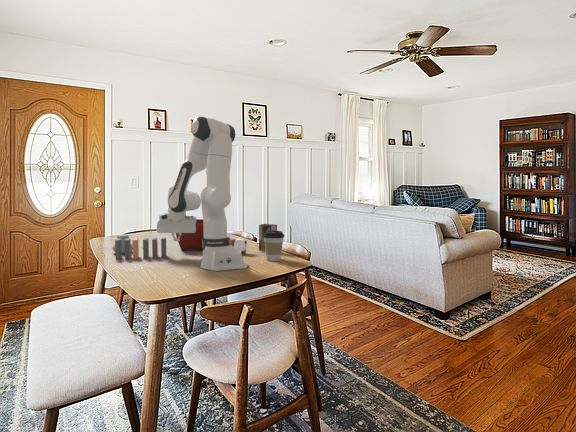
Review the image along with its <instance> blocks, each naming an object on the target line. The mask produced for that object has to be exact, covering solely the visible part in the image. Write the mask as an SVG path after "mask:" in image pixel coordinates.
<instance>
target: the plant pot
mask: <svg viewBox="0 0 576 432" xmlns="http://www.w3.org/2000/svg"><path fill="white" fill-rule="evenodd" d="M196 219H197V222H196V224H195V225H196V232H195V233H182V235H181V236H180V235H179V233H175V235H176V236H175V237H176V238H178V237H179V236H180V241H177V243H178V245H179V248H180V250H181V251H203V248H202V240H203V237H204V233H203V218H201V219H200V218H196Z"/></svg>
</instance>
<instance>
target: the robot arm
mask: <svg viewBox="0 0 576 432" xmlns="http://www.w3.org/2000/svg"><path fill="white" fill-rule="evenodd" d="M190 131H191V133H192V135H193V138H192V141H191V142H190V143H191V144H190V147H189V151H188V155H187V157H186V159H185V161H183V163H182V164H181V166H180V169H179V172H178V174H177V178H176V181H175V183H174V185H173V186H170V187H169V188H168V191H167V204H168V207H167V212H164V213H162V214H160V215H158V219H159V220H158V221H157V222H156V232H157V233H158V234H171V237H172V238H173V242H178V241H180V236H181V235H182V233H195V232H196V225H195V224H196V222H197V219H198V218H197V217H196V216H194V215H186V212H190V211H195V210H198V209H199V208H200V206H201V213H202V214H201V215H202V219H203V233H204V237H203V240H202V248H203V250H202V258H201V262H200V266H199V267H200V268H201V269H204V270H210V271H213V272H214V271H215V272H217V271H218V272H220V271H229V270H230V271H231V270H241V269H246V268H247V267H248V262H247V261H245V260H244V257H243V255H242V254H241V251H239V250H237V249H236V248H235V247H233V246H232V245H231V243H232V242H233V241H232V238H231V237H230V238H228V237H229V236H228V221H227V220H228V219H227V217H226V210H225V208H227V207H228V206H229V205H230V203H231V200H232V199H231V198H232V195H231V166H232V160H233V159H232V158H233V157H232V156H233V142H234V141H235V139H236V130H235V127H234V126H232V125H231V124H229V123H225V122H223V121H220V120H218V119H215V118H210V117H206V116H196V117H195V118H193V120H192V122H191V127H190ZM205 169H206V171H205V172H206V186H205V187H204V188H203V189H202V190H201V192H200V194H198V193H197V192H194V191H190V190H189V189H188V186H189V184H190V181H191V179H192V177H193V176H195V175H196V174H197V173H199V172H202V171H204V170H205ZM176 233H179V235H180V236H179V237H178V238H177V237H176V236H175V235H176Z"/></svg>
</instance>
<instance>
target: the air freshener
mask: <svg viewBox="0 0 576 432" xmlns="http://www.w3.org/2000/svg"><path fill="white" fill-rule="evenodd" d="M116 239H121V241H122V255H125V239H130V235H129V234H117V236H116ZM112 251H113V252H115V243H114V245H112ZM131 252H133V242H131Z"/></svg>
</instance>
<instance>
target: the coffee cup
mask: <svg viewBox="0 0 576 432" xmlns="http://www.w3.org/2000/svg"><path fill="white" fill-rule="evenodd" d="M263 237H264V242H265V250H266V253H265V259H266V261H269V262H279V261H281V258H282V252H283V251H282V250H283V242H284V238H285V234H284V233H283V231H282V230H277V231H265V234H263Z"/></svg>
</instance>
